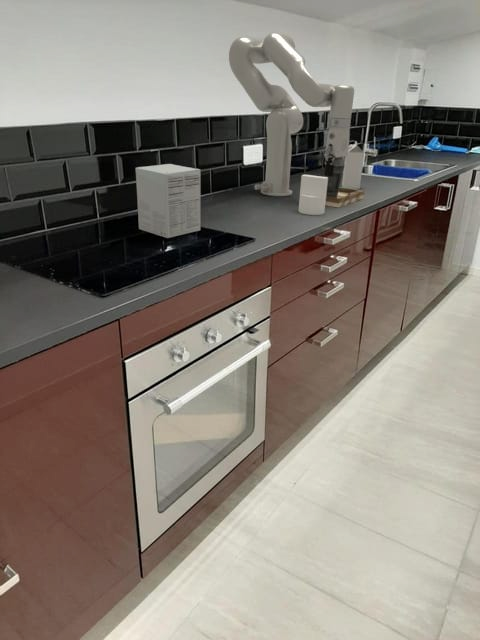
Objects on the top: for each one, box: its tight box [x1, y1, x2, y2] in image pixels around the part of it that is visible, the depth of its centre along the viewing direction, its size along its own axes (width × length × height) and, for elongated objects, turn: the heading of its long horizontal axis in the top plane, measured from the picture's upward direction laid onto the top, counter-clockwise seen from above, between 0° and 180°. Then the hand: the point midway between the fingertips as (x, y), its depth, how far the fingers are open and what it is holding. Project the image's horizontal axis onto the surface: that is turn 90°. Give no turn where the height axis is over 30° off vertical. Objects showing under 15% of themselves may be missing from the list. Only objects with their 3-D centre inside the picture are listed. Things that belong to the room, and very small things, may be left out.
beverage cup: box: [325, 155, 345, 198], centre depth 182 cm, size 7×7×20 cm
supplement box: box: [135, 163, 201, 239], centre depth 140 cm, size 13×13×18 cm
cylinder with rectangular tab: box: [298, 174, 328, 216], centre depth 169 cm, size 9×9×12 cm
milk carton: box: [341, 141, 365, 190], centre depth 212 cm, size 7×7×19 cm
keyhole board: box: [325, 186, 365, 208], centre depth 189 cm, size 22×13×3 cm, turn 144°
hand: (333, 174), depth 183 cm, fingers closed on beverage cup, 7 cm apart
